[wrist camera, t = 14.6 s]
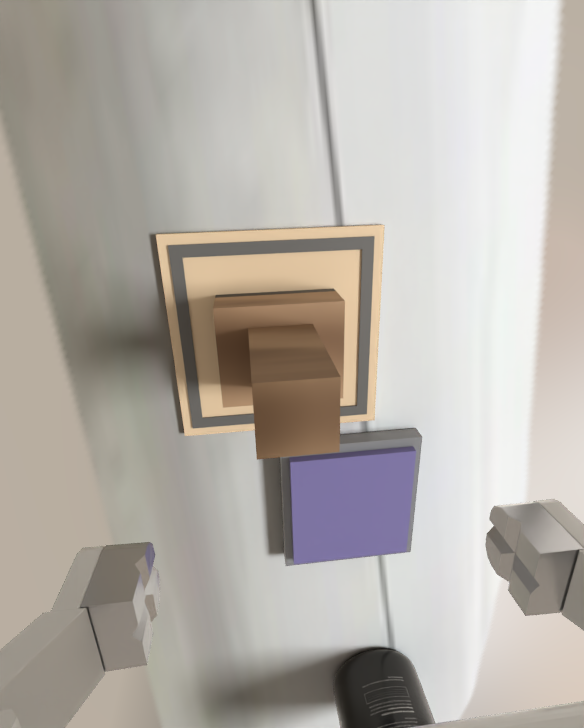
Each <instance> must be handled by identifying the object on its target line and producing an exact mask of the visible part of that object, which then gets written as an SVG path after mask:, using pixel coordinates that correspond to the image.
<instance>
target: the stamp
mask: <svg viewBox="0 0 584 728" xmlns="http://www.w3.org/2000/svg"><path fill="white" fill-rule="evenodd" d="M213 316H214V326H215V335H216V345H217V355H218V365H219V374H220V384H221V394H222V404H223V408H226V407H238V406H251V405H253V411H254V425H255V438H256V452H257V459H267V458H278V457H289V456H300V455H311V454H322V453H333V452H340V398H343V381H344V329H345V300H344V299H343V298H342V297H341V296H340V295H339V294H338V293H337V292H336V290H335V289H334V288H333V289H314V290H296V291H278V292H260V293H241V294H223V295H216V296H215V300H214V305H213Z"/></svg>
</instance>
